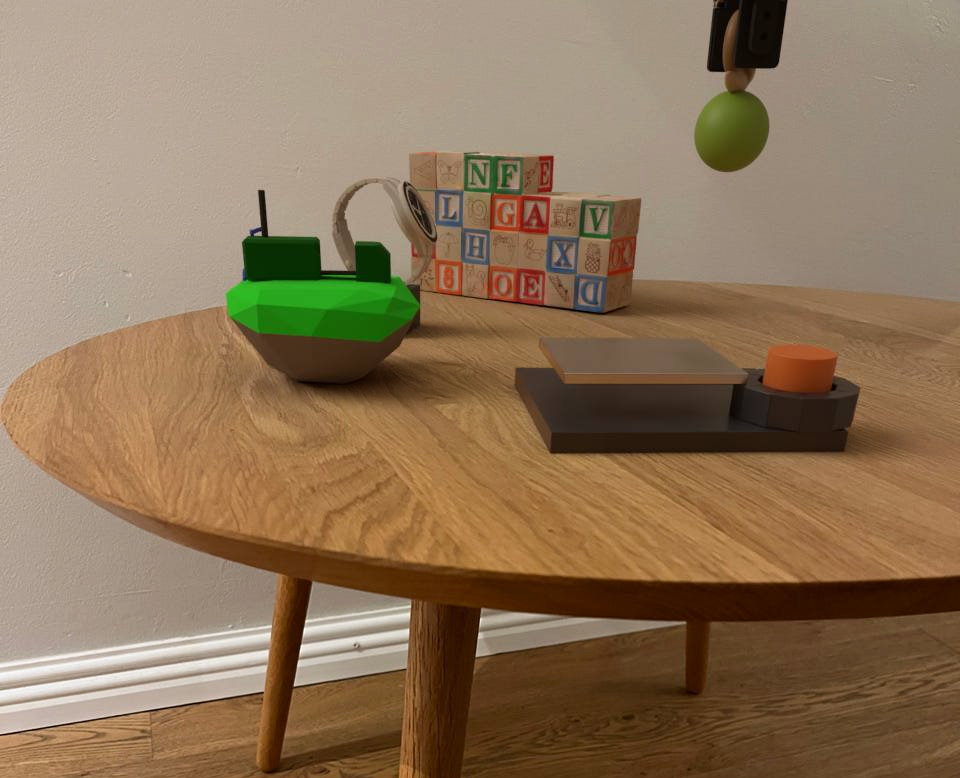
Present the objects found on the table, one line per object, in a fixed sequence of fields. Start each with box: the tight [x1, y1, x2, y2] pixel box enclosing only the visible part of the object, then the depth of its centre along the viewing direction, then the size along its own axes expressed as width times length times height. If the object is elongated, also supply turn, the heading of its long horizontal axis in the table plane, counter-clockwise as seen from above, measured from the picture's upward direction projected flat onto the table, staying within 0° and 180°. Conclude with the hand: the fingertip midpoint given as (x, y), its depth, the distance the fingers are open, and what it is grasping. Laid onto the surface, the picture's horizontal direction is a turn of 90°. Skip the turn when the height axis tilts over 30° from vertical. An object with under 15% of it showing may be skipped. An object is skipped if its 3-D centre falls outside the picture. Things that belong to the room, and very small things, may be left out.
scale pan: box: [538, 336, 749, 385], centre depth 53 cm, size 10×9×1 cm
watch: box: [331, 176, 437, 336], centre depth 72 cm, size 6×8×11 cm
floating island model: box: [225, 189, 421, 385], centre depth 58 cm, size 12×12×11 cm
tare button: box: [762, 344, 839, 393], centre depth 50 cm, size 4×4×2 cm
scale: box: [514, 367, 861, 455], centre depth 54 cm, size 17×14×3 cm
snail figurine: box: [693, 9, 770, 173], centre depth 68 cm, size 5×6×12 cm
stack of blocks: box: [408, 150, 642, 314], centre depth 87 cm, size 21×6×12 cm, turn 58°
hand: (741, 67), depth 68 cm, fingers closed on snail figurine, 5 cm apart
